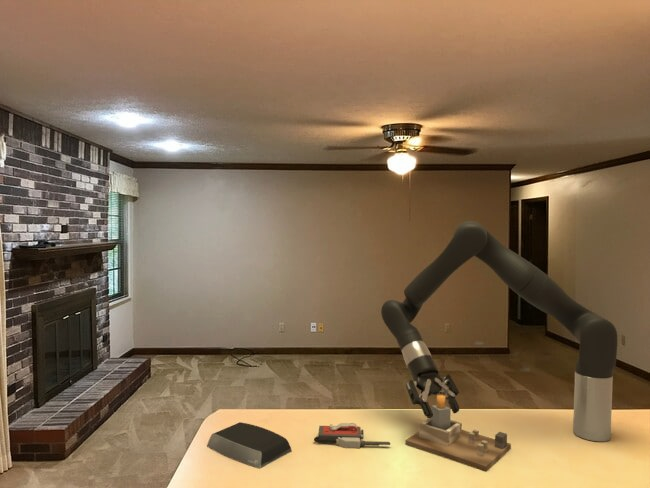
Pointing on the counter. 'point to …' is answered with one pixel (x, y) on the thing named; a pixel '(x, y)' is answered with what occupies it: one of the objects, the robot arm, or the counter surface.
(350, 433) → the walkie-talkie
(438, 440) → the board
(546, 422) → the counter surface
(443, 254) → the robot arm
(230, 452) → the external hard drive
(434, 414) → the connector plug
